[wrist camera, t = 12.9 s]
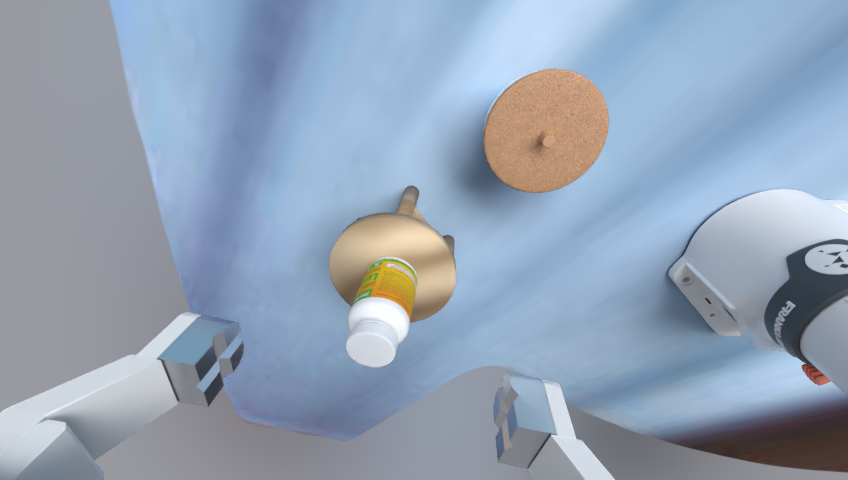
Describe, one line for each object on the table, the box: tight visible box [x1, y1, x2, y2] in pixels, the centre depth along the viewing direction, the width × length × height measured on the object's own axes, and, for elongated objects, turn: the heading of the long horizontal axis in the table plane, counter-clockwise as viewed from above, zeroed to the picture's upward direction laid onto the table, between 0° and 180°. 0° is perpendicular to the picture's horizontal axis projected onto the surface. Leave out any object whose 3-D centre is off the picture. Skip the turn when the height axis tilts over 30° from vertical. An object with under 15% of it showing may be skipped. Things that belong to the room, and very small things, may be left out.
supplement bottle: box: [346, 257, 418, 367], centre depth 31 cm, size 6×6×10 cm
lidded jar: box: [483, 69, 609, 193], centre depth 31 cm, size 11×11×9 cm
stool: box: [329, 186, 456, 322], centre depth 40 cm, size 14×14×10 cm
